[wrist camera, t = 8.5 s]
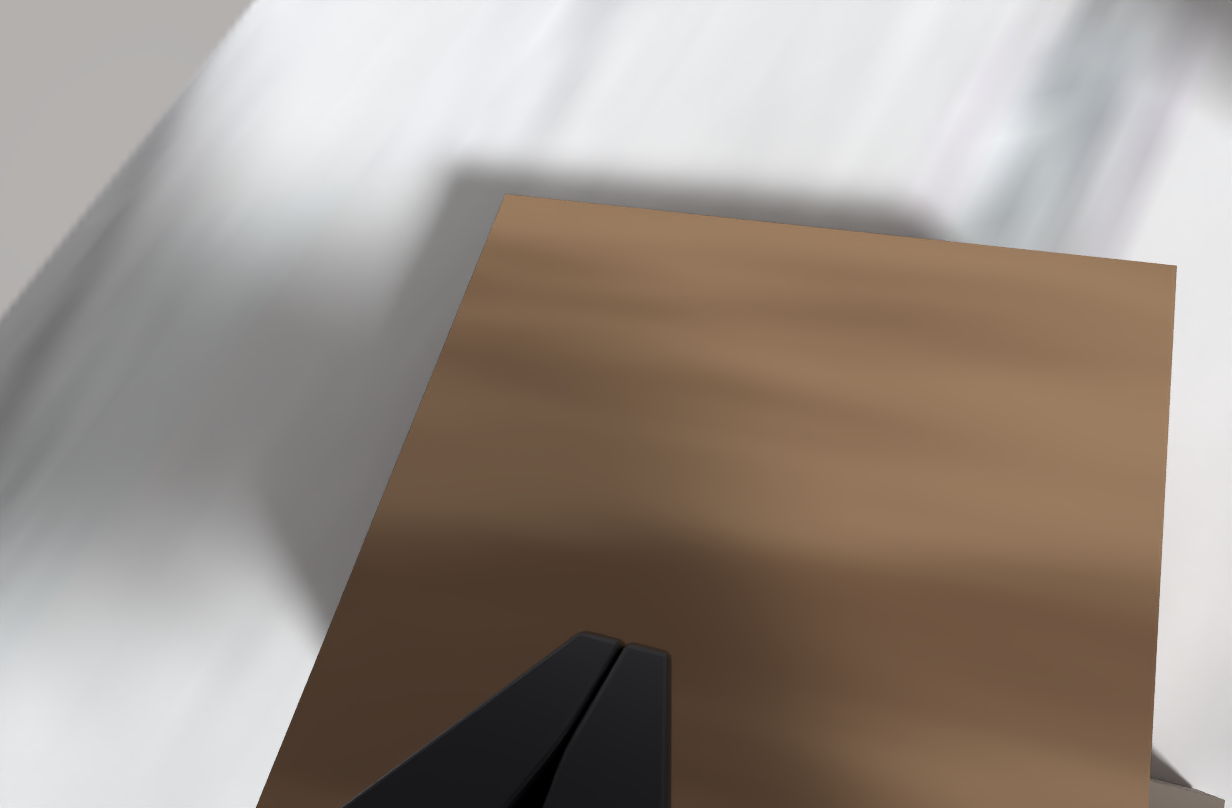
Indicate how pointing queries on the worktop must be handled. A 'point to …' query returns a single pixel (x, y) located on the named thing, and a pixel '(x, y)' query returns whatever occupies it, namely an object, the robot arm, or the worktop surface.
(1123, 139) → the worktop surface
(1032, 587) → the light brown wooden block
